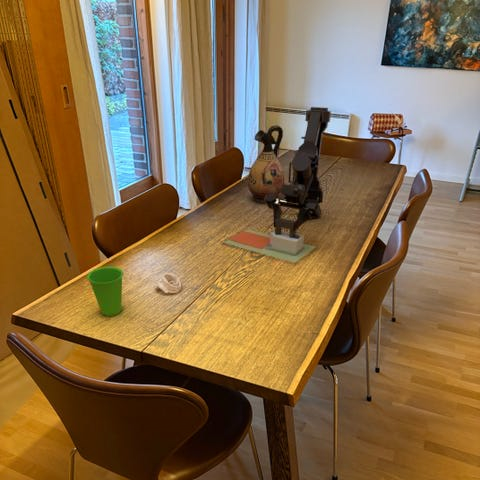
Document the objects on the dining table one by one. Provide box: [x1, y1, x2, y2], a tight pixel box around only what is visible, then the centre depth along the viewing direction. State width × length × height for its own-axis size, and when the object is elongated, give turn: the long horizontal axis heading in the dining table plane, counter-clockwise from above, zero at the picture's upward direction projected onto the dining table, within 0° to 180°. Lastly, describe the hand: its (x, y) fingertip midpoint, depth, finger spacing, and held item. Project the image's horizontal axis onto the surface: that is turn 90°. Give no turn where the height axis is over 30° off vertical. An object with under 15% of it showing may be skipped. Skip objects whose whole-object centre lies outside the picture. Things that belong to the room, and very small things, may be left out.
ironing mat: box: [223, 228, 317, 264], centre depth 162 cm, size 28×15×1 cm, turn 56°
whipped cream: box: [155, 272, 182, 294], centre depth 135 cm, size 8×7×5 cm
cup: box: [86, 266, 124, 317], centre depth 123 cm, size 9×9×11 cm
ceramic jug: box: [247, 124, 285, 204], centre depth 195 cm, size 17×15×30 cm
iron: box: [266, 217, 305, 256], centre depth 156 cm, size 11×6×10 cm, turn 59°
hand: (283, 229), depth 153 cm, fingers closed on iron, 7 cm apart
